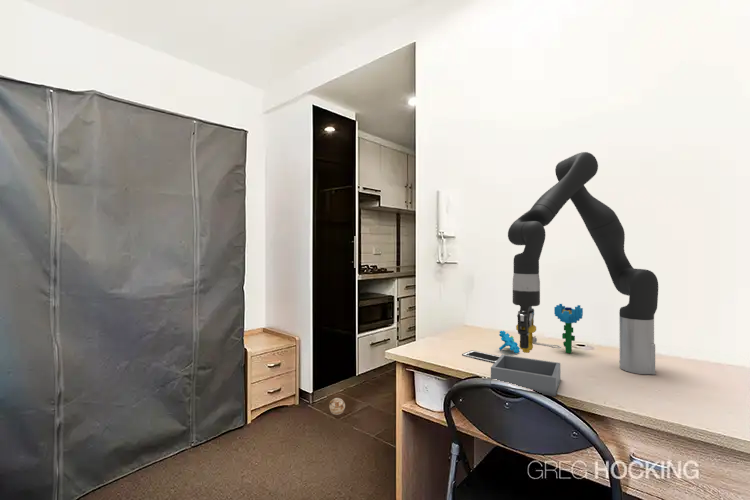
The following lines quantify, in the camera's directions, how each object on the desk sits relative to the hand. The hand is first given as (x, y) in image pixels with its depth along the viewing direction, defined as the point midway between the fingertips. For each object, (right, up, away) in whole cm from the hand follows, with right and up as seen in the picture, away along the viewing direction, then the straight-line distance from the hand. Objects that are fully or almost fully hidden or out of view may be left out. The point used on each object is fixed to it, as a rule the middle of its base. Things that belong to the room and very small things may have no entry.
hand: (526, 345), depth 107 cm
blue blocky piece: (+9, -12, +31) cm, 34 cm away
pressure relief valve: (+3, -2, -2) cm, 4 cm away
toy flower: (+29, -11, +30) cm, 43 cm away
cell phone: (-5, -11, +24) cm, 27 cm away
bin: (0, -11, 0) cm, 11 cm away
